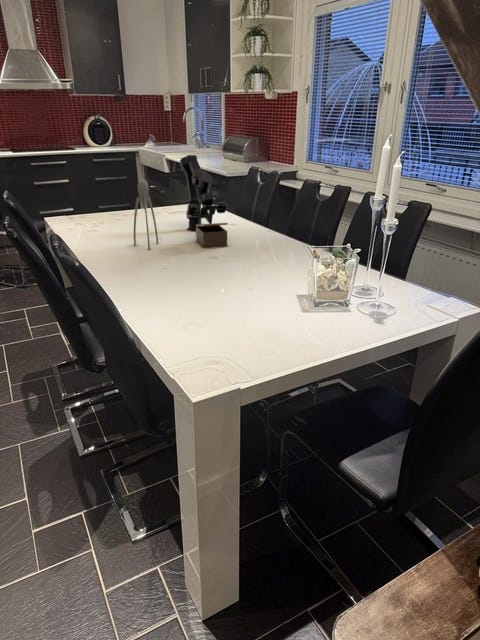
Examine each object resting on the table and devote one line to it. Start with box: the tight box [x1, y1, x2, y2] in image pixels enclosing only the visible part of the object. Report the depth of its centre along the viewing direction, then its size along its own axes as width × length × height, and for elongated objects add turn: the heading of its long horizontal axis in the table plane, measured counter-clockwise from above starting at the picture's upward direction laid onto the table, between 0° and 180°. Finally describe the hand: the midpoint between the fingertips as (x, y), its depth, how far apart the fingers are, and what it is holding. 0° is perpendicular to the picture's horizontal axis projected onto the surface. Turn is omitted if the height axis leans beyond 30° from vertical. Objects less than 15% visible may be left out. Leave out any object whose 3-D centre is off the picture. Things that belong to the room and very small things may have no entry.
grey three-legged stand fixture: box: [133, 179, 159, 251], centre depth 213 cm, size 11×10×30 cm
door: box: [196, 222, 229, 226], centre depth 220 cm, size 14×12×1 cm
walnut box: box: [195, 225, 228, 249], centre depth 223 cm, size 14×12×7 cm
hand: (210, 223), depth 220 cm, fingers closed
